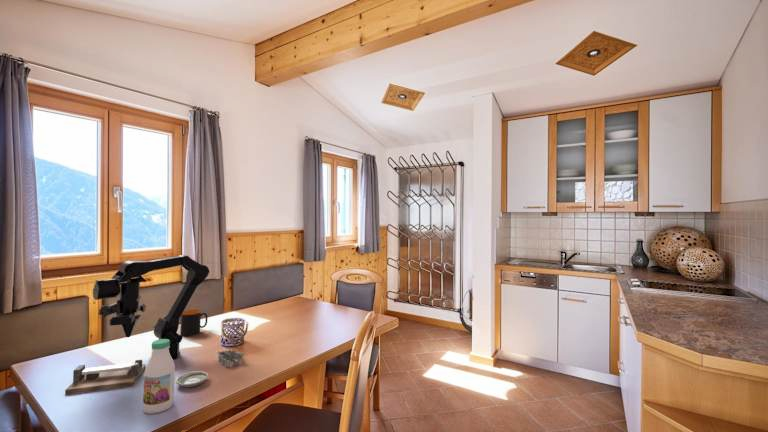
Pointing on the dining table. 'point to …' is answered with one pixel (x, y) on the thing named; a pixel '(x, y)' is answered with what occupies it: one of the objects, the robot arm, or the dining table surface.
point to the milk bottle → (159, 379)
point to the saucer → (191, 378)
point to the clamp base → (104, 379)
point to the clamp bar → (108, 368)
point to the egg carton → (230, 358)
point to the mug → (191, 323)
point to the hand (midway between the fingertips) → (128, 336)
